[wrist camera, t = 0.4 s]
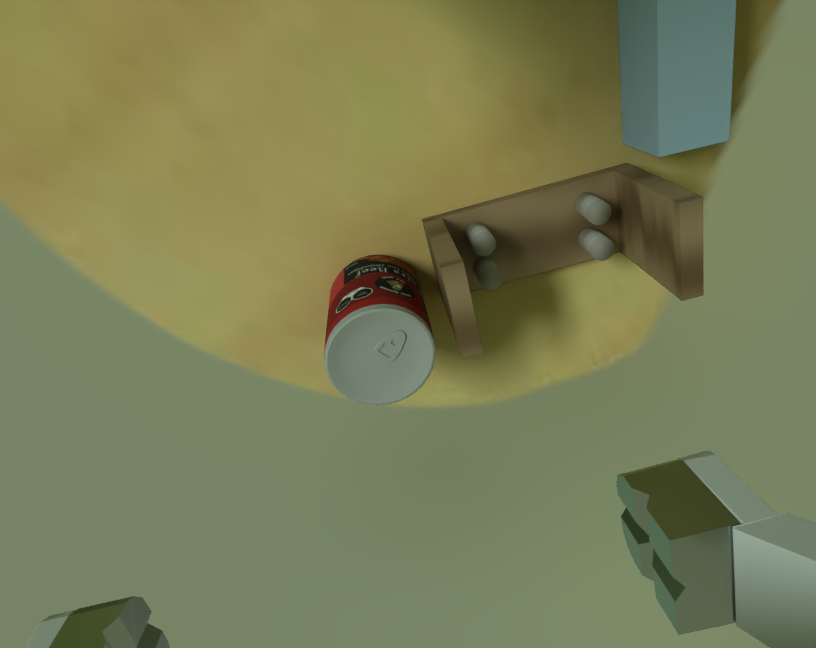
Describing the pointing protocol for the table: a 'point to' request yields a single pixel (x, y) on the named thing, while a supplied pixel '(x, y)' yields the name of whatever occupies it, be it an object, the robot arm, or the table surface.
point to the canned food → (378, 332)
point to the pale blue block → (676, 73)
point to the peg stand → (566, 237)
